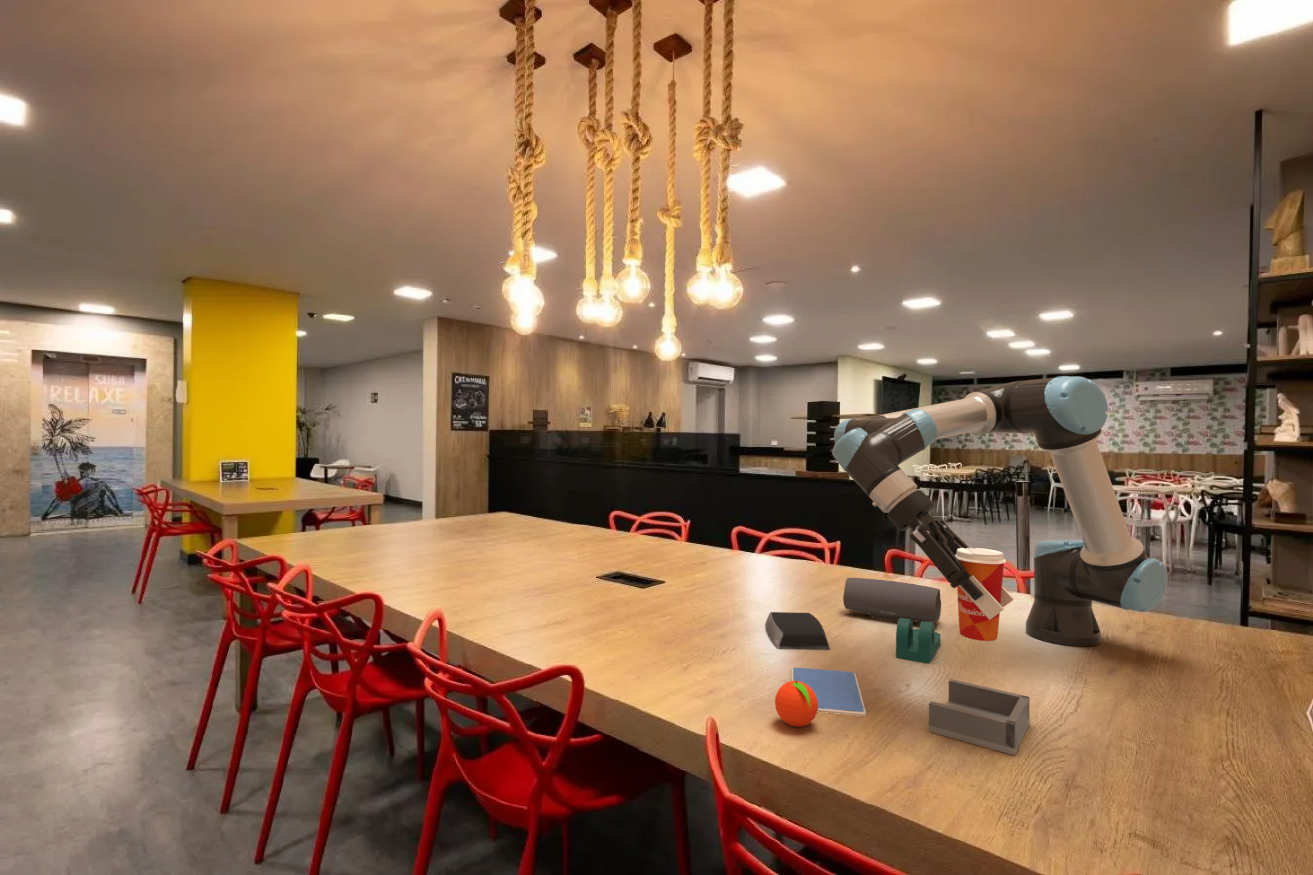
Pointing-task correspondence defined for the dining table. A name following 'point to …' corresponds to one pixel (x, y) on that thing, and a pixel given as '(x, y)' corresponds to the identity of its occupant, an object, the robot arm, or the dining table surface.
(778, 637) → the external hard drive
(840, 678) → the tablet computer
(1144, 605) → the robot arm
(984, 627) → the paper cup
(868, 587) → the bluetooth speaker
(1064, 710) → the dining table surface
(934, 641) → the bracket
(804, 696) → the clementine
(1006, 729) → the cup holder
